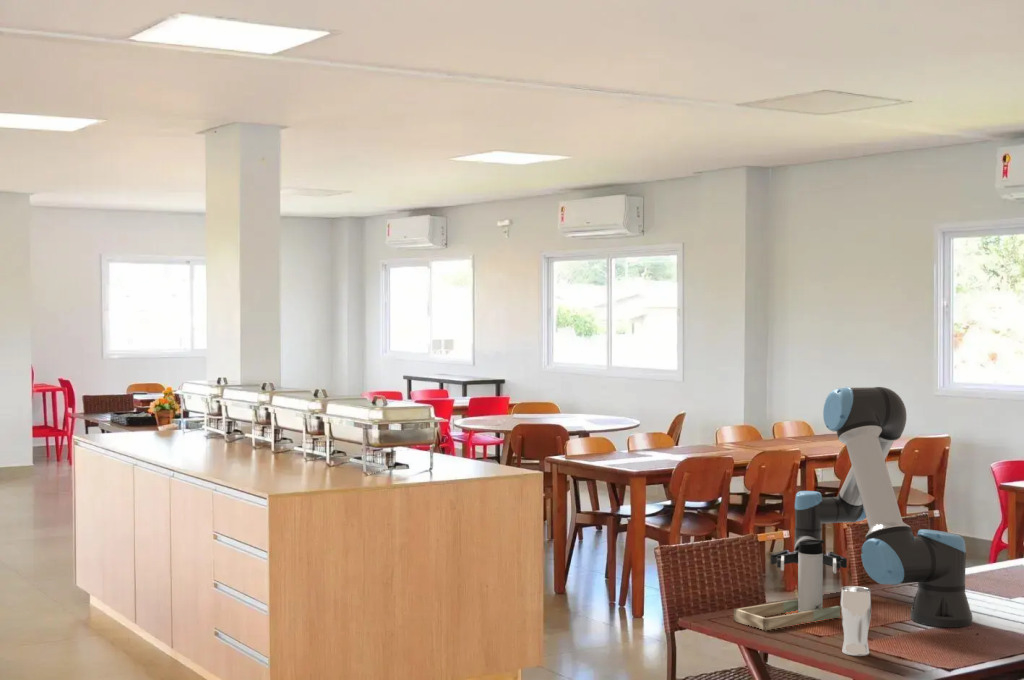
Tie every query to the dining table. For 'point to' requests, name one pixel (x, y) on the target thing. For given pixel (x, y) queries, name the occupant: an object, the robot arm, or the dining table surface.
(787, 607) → the bay
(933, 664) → the dining table surface
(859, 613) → the beer glass
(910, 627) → the dining table surface
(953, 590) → the robot arm
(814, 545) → the travel mug
